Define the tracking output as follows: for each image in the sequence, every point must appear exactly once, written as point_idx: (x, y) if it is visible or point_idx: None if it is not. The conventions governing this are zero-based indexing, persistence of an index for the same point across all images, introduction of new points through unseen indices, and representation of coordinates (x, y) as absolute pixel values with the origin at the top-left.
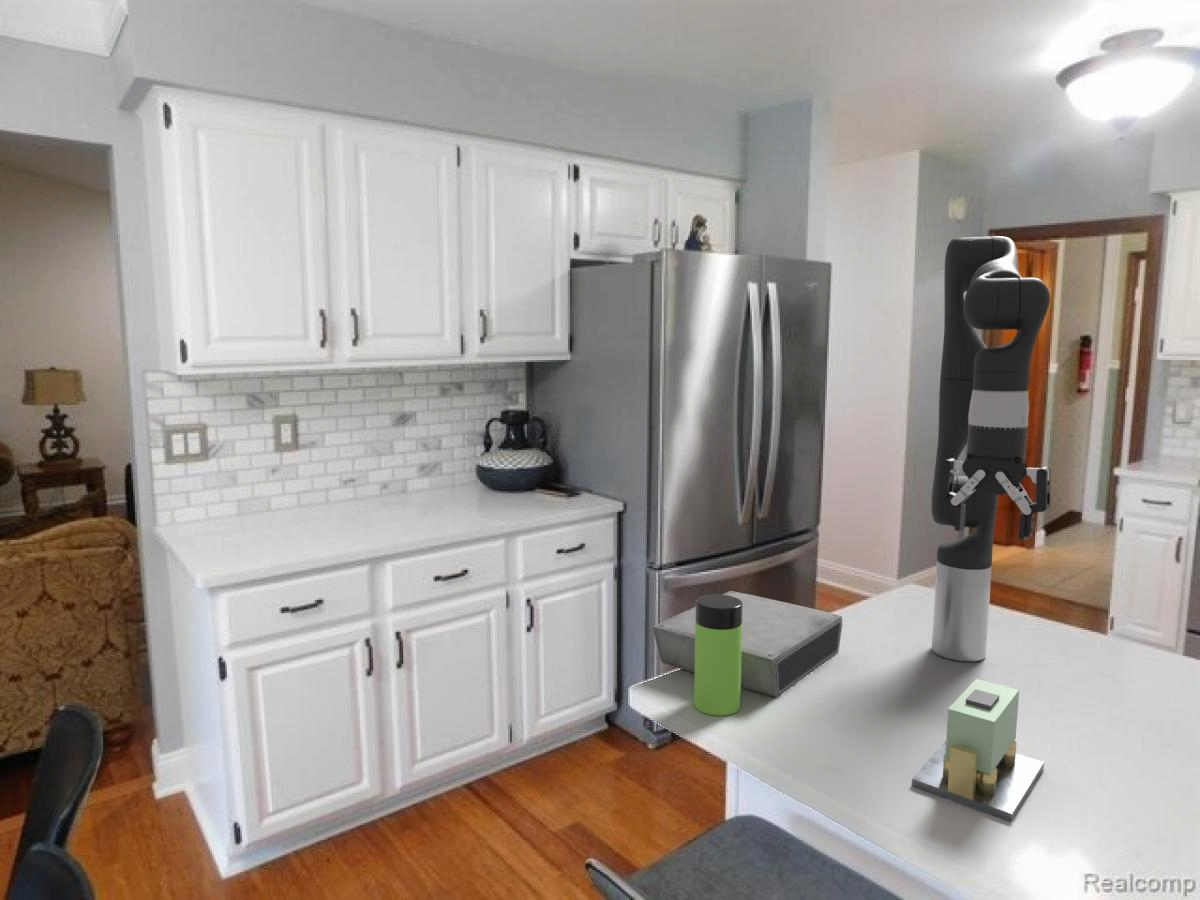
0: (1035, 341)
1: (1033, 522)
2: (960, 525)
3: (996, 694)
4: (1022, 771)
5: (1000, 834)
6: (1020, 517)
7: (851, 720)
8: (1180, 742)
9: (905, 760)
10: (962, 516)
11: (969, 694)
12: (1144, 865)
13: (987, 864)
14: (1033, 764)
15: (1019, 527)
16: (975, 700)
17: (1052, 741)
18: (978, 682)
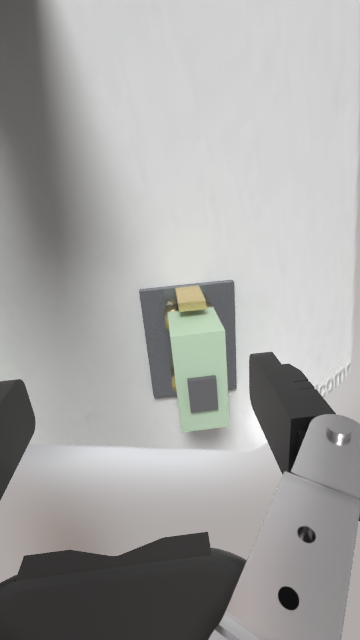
0: None
1: (320, 398)
2: (25, 435)
3: (207, 363)
4: (223, 316)
5: (233, 404)
6: (283, 471)
7: (39, 326)
8: (350, 74)
9: (127, 360)
10: (4, 448)
11: (183, 385)
12: (323, 369)
13: (237, 439)
14: (227, 295)
15: (266, 435)
16: (200, 408)
17: (223, 204)
18: (177, 345)
